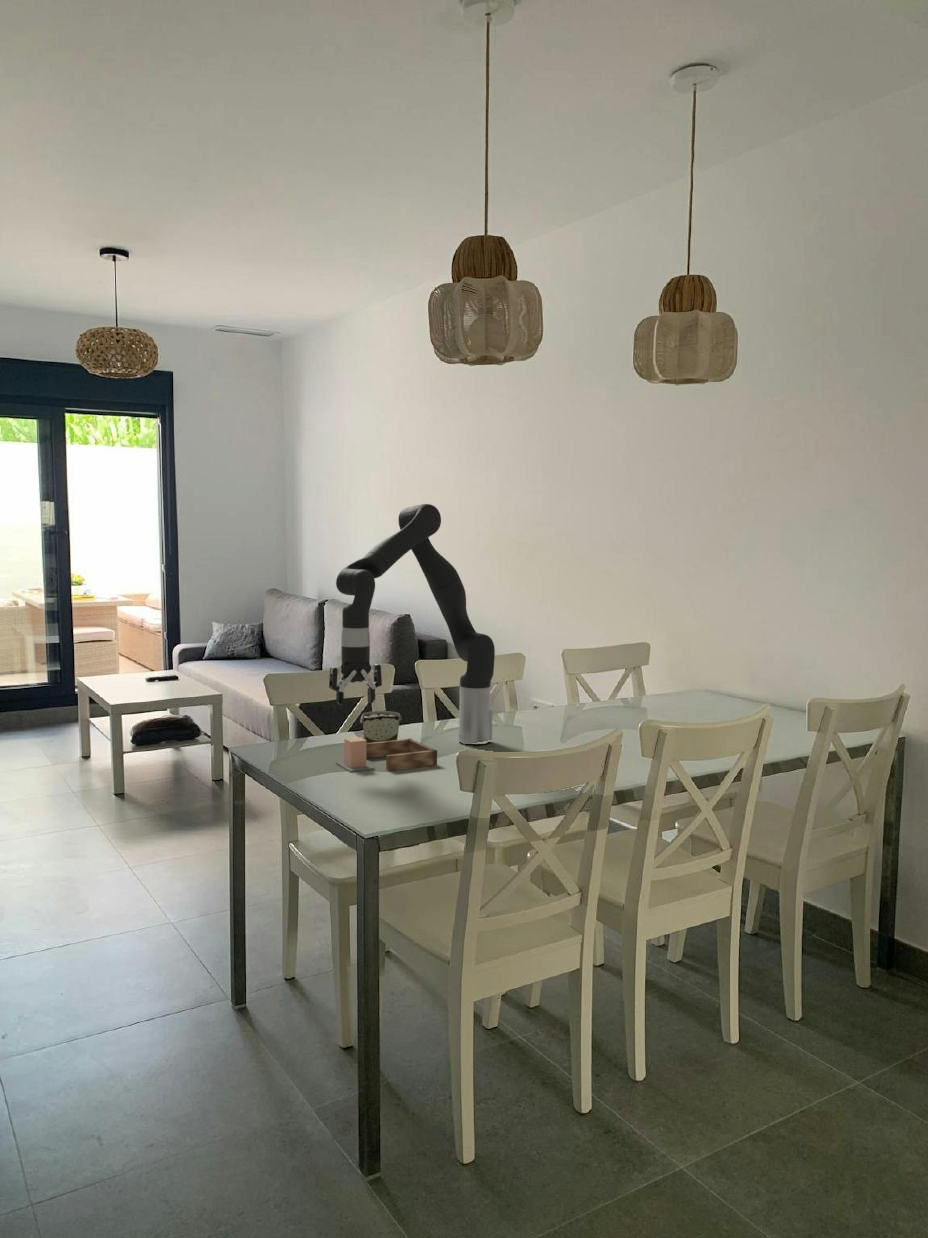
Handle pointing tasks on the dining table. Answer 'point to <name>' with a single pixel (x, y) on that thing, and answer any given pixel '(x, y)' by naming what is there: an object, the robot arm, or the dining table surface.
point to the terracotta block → (355, 752)
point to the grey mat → (354, 767)
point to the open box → (402, 753)
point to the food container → (380, 726)
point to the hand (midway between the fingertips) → (355, 704)
